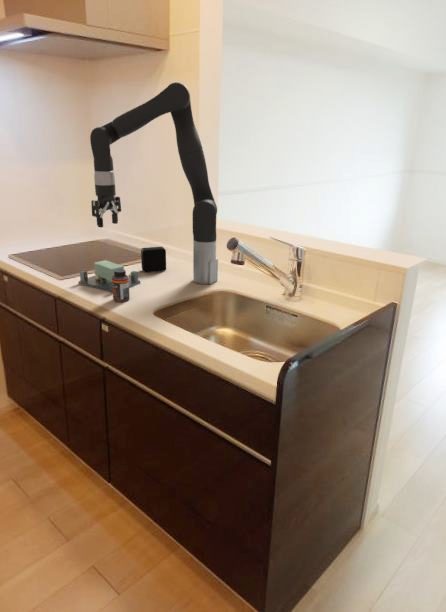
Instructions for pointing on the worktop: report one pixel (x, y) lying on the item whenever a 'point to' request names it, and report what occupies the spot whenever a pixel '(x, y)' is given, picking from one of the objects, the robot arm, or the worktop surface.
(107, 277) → the pale green rectangular block
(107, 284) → the chassis
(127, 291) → the supplement bottle
